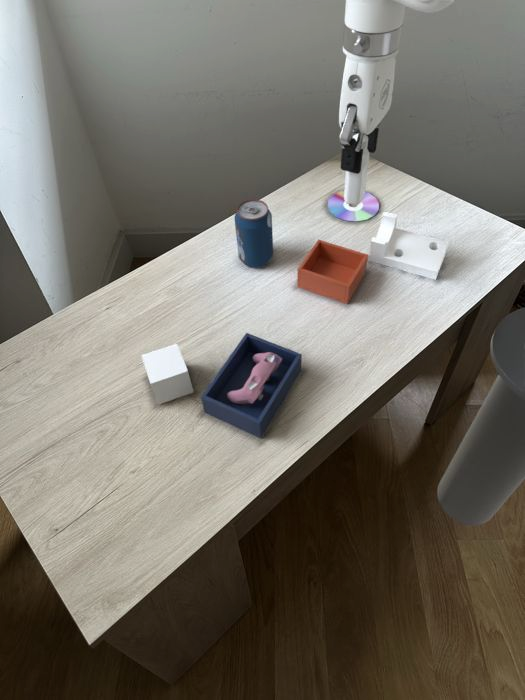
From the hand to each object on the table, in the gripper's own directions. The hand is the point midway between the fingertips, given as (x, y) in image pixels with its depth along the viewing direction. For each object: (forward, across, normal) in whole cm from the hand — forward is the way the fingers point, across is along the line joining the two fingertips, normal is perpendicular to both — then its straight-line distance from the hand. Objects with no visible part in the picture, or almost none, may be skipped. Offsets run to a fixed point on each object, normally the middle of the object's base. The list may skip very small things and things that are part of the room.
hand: (358, 159), depth 83 cm
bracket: (+23, +6, -10) cm, 26 cm away
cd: (+23, +18, +6) cm, 30 cm away
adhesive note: (+23, -39, +15) cm, 48 cm away
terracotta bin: (+23, -4, +1) cm, 24 cm away
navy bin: (+23, -34, +2) cm, 41 cm away
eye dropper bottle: (+7, 0, 0) cm, 7 cm away
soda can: (+23, -6, +17) cm, 29 cm away
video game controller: (+23, -33, +2) cm, 40 cm away
